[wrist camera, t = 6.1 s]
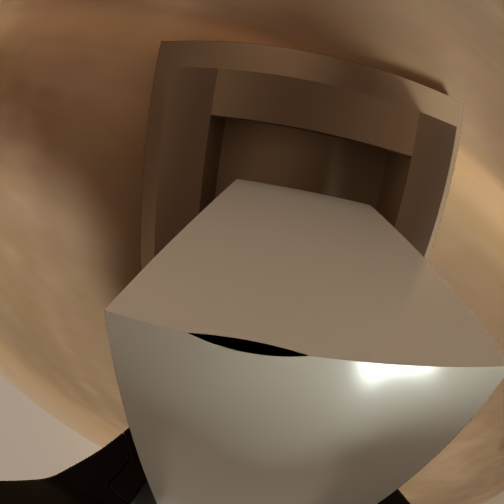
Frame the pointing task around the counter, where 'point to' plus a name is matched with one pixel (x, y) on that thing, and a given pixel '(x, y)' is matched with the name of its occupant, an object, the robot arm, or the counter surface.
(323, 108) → the rack
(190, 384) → the white rectangular block
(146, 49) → the counter surface
